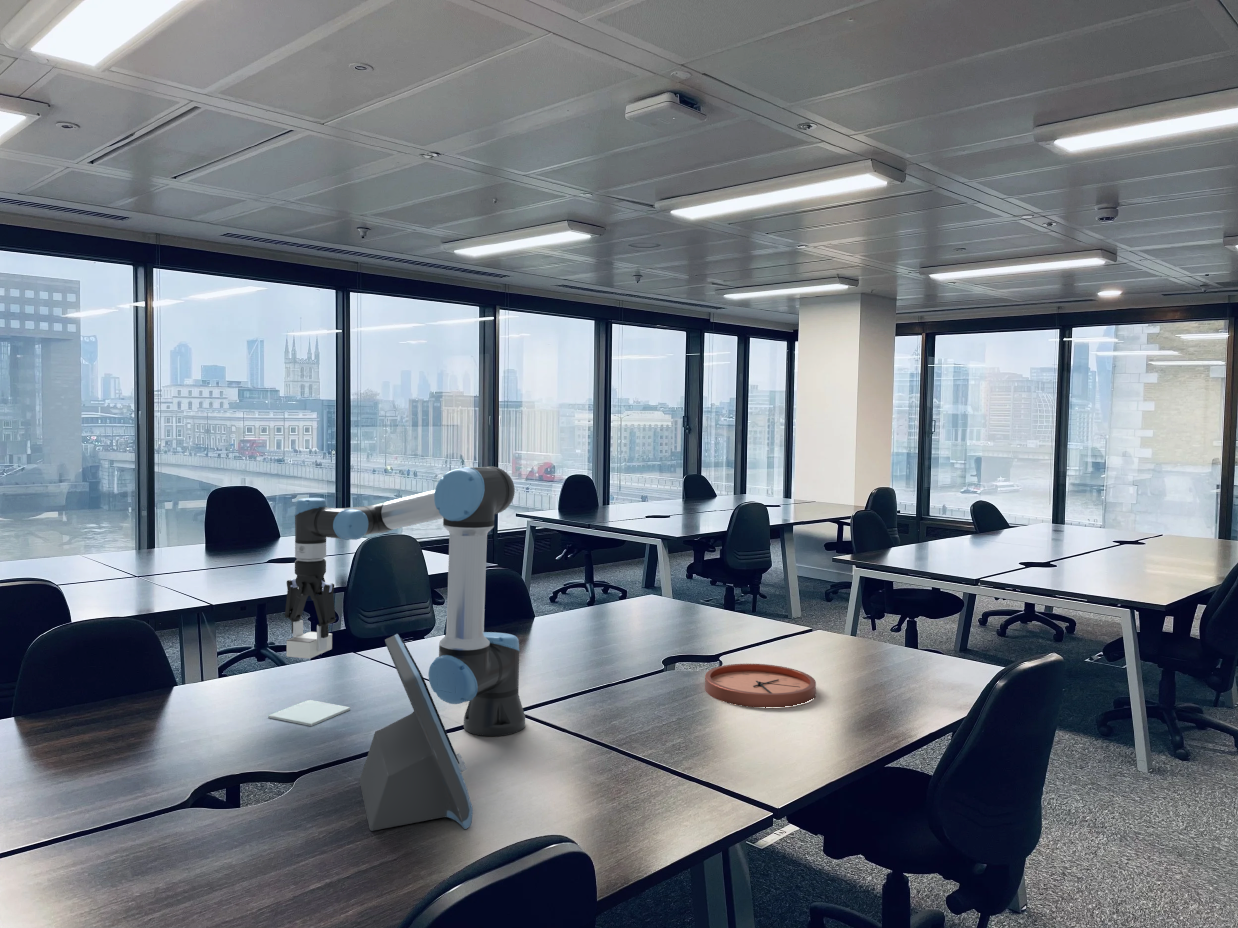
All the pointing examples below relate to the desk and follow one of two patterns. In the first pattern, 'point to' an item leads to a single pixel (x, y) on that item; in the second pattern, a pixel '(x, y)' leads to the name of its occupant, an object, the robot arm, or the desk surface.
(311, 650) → the card deck box
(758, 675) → the clock
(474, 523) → the robot arm
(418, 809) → the touchscreen device
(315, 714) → the mat
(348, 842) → the desk surface
